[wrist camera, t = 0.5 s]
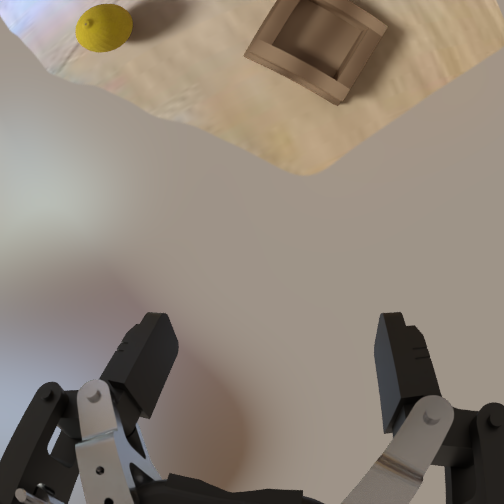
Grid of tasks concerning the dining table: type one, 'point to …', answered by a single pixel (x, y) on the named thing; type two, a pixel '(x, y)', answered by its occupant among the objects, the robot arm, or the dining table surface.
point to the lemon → (104, 27)
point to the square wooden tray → (317, 44)
